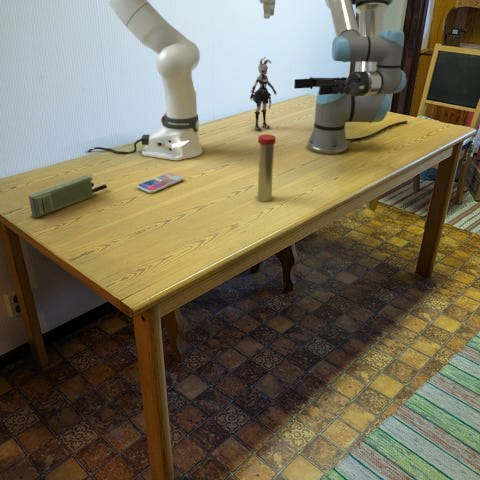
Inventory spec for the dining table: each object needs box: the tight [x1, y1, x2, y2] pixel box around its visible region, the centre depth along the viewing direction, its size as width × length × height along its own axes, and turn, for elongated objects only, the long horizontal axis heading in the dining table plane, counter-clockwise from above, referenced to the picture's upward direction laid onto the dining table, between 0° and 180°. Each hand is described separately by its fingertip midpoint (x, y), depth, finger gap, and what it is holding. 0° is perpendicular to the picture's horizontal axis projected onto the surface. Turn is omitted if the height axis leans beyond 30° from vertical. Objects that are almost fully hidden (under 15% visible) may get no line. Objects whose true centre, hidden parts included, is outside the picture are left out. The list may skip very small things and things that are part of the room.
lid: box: [257, 133, 276, 145], centre depth 147 cm, size 5×5×2 cm
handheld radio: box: [28, 173, 108, 219], centre depth 150 cm, size 7×3×25 cm
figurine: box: [249, 56, 278, 132], centre depth 211 cm, size 15×6×30 cm, turn 132°
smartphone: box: [136, 172, 184, 194], centre depth 164 cm, size 7×1×15 cm
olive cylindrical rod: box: [257, 143, 275, 202], centre depth 151 cm, size 4×4×19 cm
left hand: (268, 16), depth 163 cm, fingers open, 8 cm apart
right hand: (306, 86), depth 153 cm, fingers open, 13 cm apart
